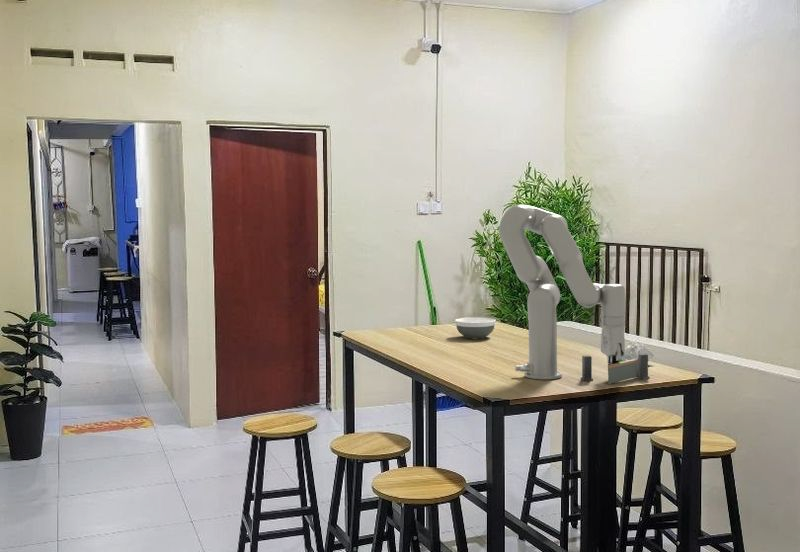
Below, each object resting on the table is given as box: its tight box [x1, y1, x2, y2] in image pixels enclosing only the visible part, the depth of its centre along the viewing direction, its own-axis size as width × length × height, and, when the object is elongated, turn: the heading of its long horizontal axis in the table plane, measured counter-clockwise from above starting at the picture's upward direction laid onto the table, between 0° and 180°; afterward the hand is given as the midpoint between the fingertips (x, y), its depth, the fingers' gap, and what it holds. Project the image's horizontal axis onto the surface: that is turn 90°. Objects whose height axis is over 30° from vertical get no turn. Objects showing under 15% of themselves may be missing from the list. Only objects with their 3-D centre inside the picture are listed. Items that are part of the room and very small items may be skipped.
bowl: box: [454, 316, 497, 339], centre depth 363 cm, size 19×19×8 cm
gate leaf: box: [607, 359, 639, 385], centre depth 263 cm, size 16×1×6 cm, turn 130°
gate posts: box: [580, 354, 650, 382], centre depth 267 cm, size 23×3×8 cm, turn 96°
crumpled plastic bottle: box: [620, 340, 656, 362], centre depth 290 cm, size 12×9×10 cm
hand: (613, 375), depth 265 cm, fingers closed
